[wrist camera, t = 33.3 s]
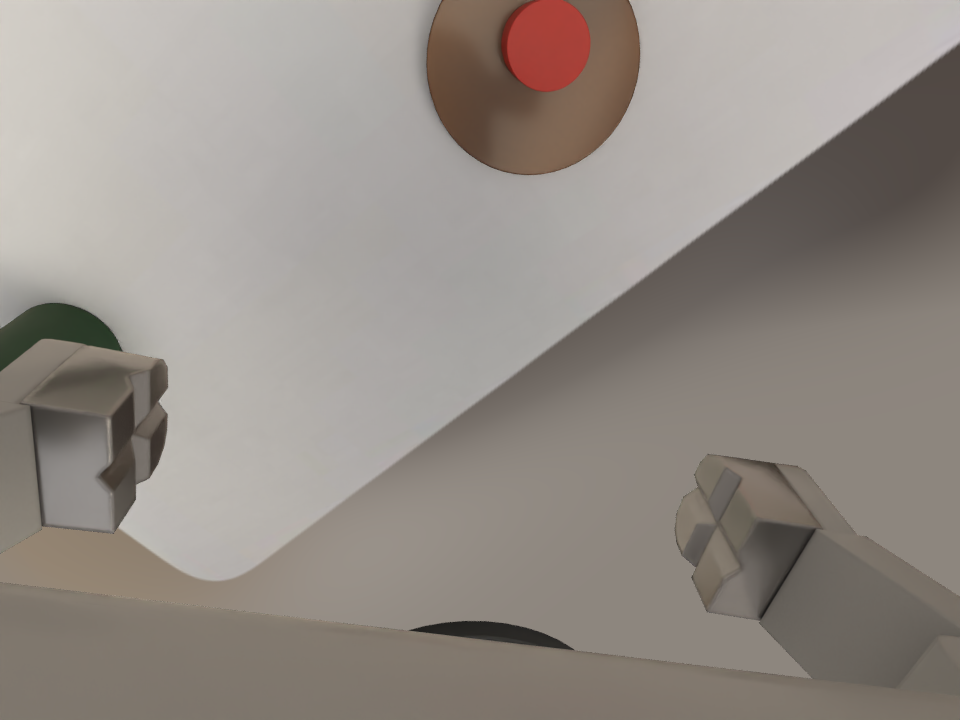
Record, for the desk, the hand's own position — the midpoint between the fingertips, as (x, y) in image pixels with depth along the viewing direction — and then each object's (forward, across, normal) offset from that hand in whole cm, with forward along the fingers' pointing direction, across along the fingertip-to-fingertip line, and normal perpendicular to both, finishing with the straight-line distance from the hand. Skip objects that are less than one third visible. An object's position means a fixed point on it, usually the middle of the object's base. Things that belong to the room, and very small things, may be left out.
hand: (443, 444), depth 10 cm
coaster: (+29, -4, -4) cm, 29 cm away
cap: (+28, -4, -5) cm, 29 cm away
